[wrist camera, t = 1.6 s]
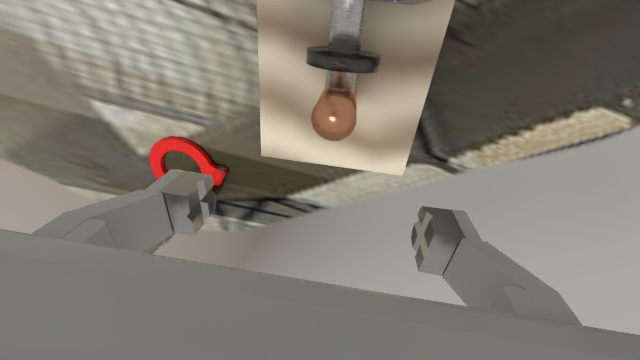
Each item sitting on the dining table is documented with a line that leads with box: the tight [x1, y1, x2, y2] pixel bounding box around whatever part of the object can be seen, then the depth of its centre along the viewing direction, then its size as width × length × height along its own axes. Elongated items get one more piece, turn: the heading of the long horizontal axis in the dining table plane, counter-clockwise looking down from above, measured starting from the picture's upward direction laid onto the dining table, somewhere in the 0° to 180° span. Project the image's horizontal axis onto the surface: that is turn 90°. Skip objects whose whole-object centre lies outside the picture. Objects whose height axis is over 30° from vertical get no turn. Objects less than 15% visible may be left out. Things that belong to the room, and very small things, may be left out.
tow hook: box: [142, 137, 228, 254], centre depth 28 cm, size 8×13×9 cm
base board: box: [257, 0, 455, 176], centre depth 24 cm, size 24×16×1 cm, turn 175°
